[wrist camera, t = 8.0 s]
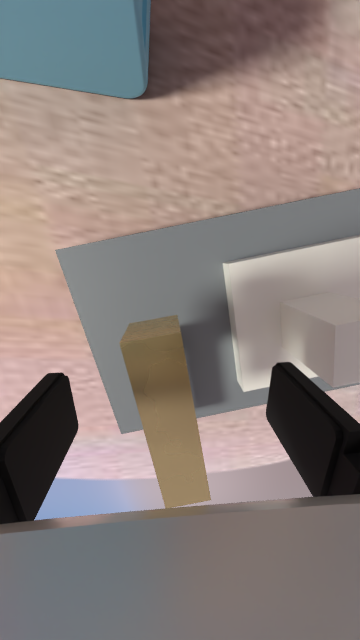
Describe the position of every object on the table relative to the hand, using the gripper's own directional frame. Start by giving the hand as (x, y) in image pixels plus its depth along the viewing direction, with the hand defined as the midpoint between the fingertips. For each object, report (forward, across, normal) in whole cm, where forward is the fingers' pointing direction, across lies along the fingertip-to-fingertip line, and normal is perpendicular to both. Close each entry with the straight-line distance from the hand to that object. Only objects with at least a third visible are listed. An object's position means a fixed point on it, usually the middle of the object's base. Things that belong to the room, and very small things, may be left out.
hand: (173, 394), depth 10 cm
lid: (+7, -10, -1) cm, 12 cm away
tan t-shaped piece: (+7, 0, +2) cm, 7 cm away
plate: (+10, -5, 0) cm, 11 cm away
